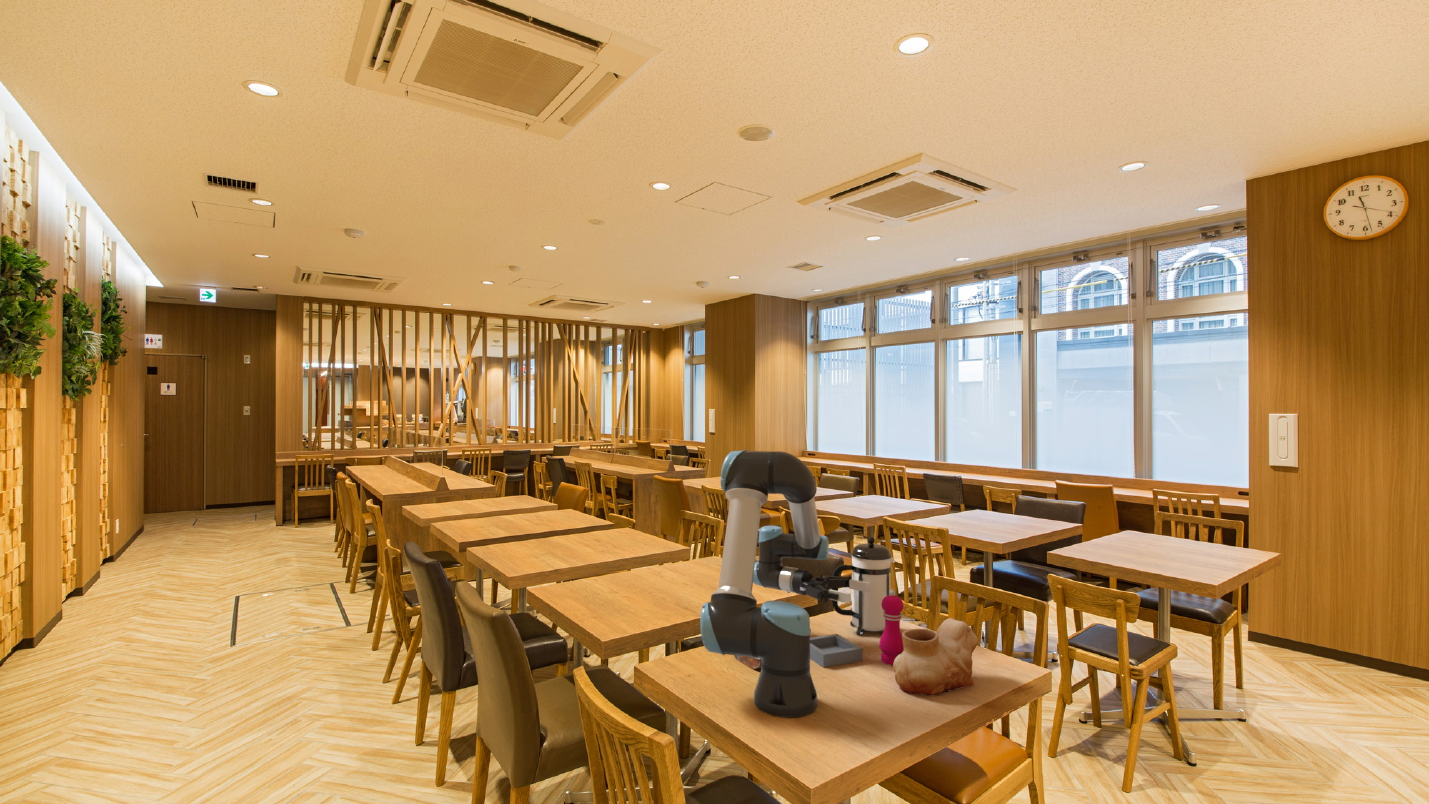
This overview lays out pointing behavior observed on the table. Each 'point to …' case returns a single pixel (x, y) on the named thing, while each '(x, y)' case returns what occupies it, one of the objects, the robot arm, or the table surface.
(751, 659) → the tin
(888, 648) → the pepper mill
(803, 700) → the robot arm
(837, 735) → the table surface
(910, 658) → the ceramic vessel
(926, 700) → the table surface
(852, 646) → the charcoal tray
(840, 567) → the coffee press
